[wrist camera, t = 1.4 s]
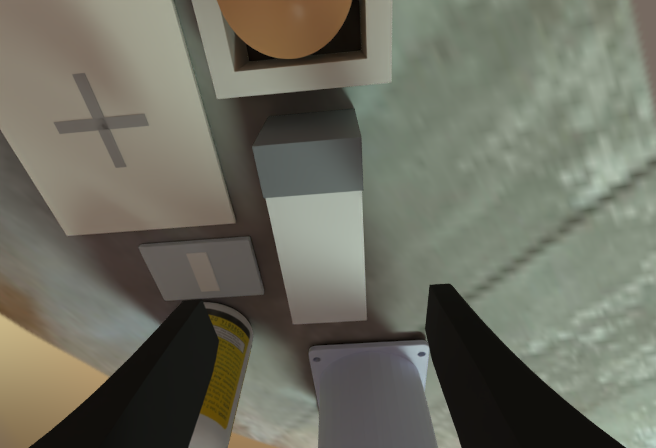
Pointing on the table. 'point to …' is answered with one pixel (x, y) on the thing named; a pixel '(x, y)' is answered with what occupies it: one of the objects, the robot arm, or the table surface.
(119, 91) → the paper sheet
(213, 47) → the button box
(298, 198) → the grey rectangular prism
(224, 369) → the supplement bottle
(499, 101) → the table surface
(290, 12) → the button
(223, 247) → the card
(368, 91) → the table surface
